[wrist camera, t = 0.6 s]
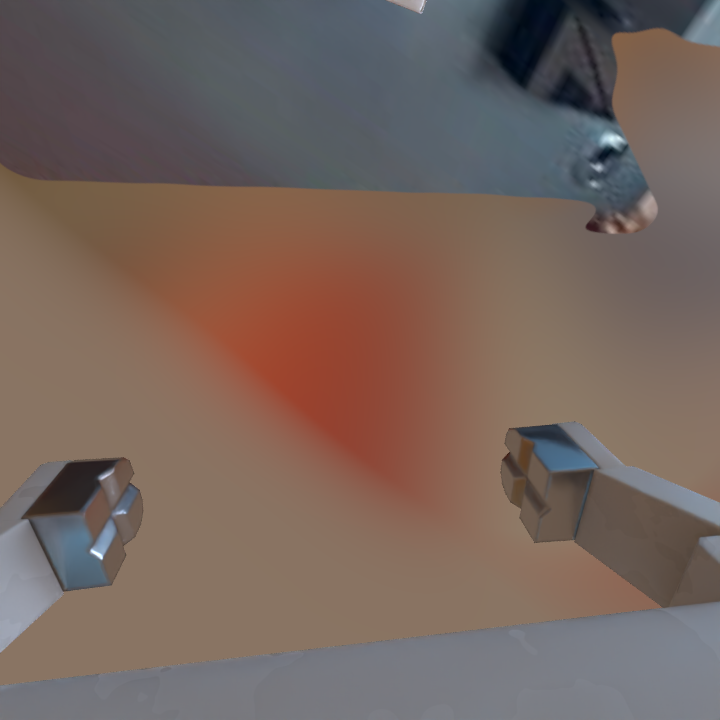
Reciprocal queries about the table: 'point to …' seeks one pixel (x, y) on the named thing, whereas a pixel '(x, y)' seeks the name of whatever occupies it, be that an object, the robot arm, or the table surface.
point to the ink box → (411, 4)
